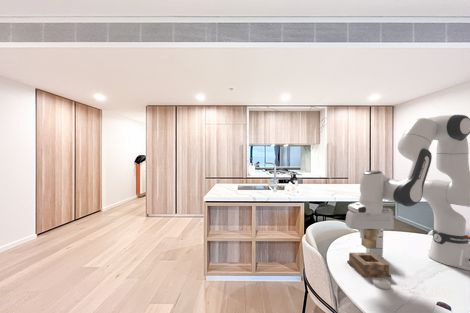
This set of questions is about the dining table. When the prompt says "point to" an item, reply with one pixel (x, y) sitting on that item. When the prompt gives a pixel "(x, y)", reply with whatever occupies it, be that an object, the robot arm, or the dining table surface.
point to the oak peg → (369, 238)
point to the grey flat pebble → (381, 283)
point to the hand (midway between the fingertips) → (368, 238)
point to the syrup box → (378, 246)
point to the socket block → (369, 265)
